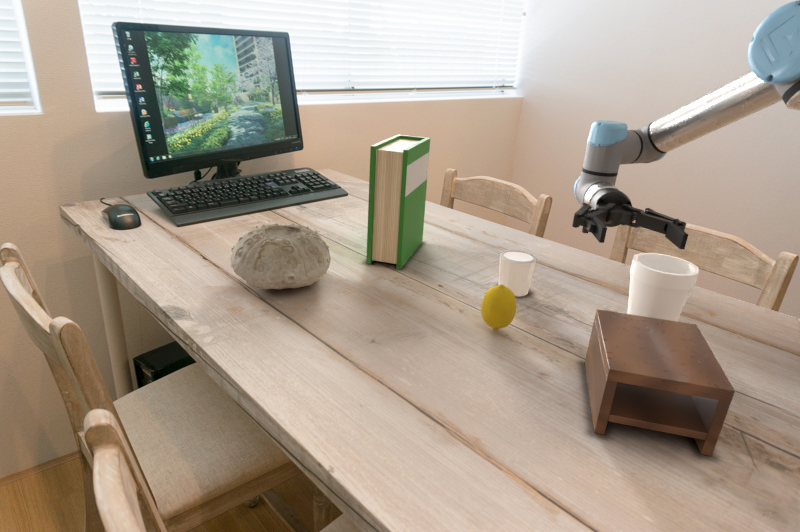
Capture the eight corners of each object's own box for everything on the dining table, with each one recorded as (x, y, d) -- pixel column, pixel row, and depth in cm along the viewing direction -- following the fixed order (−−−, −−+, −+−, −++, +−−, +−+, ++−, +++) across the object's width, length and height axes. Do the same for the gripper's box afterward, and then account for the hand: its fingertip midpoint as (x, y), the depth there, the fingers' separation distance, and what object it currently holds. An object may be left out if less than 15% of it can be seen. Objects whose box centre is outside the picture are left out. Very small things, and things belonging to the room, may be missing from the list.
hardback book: (400, 269, 107) (408, 150, 98) (366, 263, 109) (370, 146, 100) (422, 242, 123) (430, 137, 114) (392, 237, 125) (397, 134, 116)
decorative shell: (331, 301, 92) (331, 247, 88) (224, 302, 89) (220, 247, 85) (329, 263, 108) (329, 216, 104) (239, 262, 106) (236, 214, 102)
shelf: (679, 380, 75) (696, 324, 72) (712, 456, 61) (735, 391, 57) (584, 363, 78) (596, 309, 74) (593, 433, 63) (609, 369, 60)
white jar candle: (504, 279, 105) (509, 246, 103) (537, 289, 102) (542, 255, 99) (488, 290, 100) (493, 256, 97) (522, 301, 96) (528, 265, 94)
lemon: (498, 341, 82) (504, 295, 79) (471, 327, 86) (476, 282, 83) (519, 331, 86) (526, 286, 83) (493, 318, 90) (499, 274, 87)
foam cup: (603, 327, 89) (619, 255, 84) (644, 320, 92) (662, 250, 87) (647, 356, 81) (669, 278, 76) (690, 347, 84) (713, 272, 79)
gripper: (664, 226, 111) (711, 264, 91) (544, 217, 112) (566, 252, 92) (673, 191, 108) (724, 223, 88) (550, 182, 109) (574, 211, 89)
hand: (643, 238), depth 90 cm, fingers open, 13 cm apart
